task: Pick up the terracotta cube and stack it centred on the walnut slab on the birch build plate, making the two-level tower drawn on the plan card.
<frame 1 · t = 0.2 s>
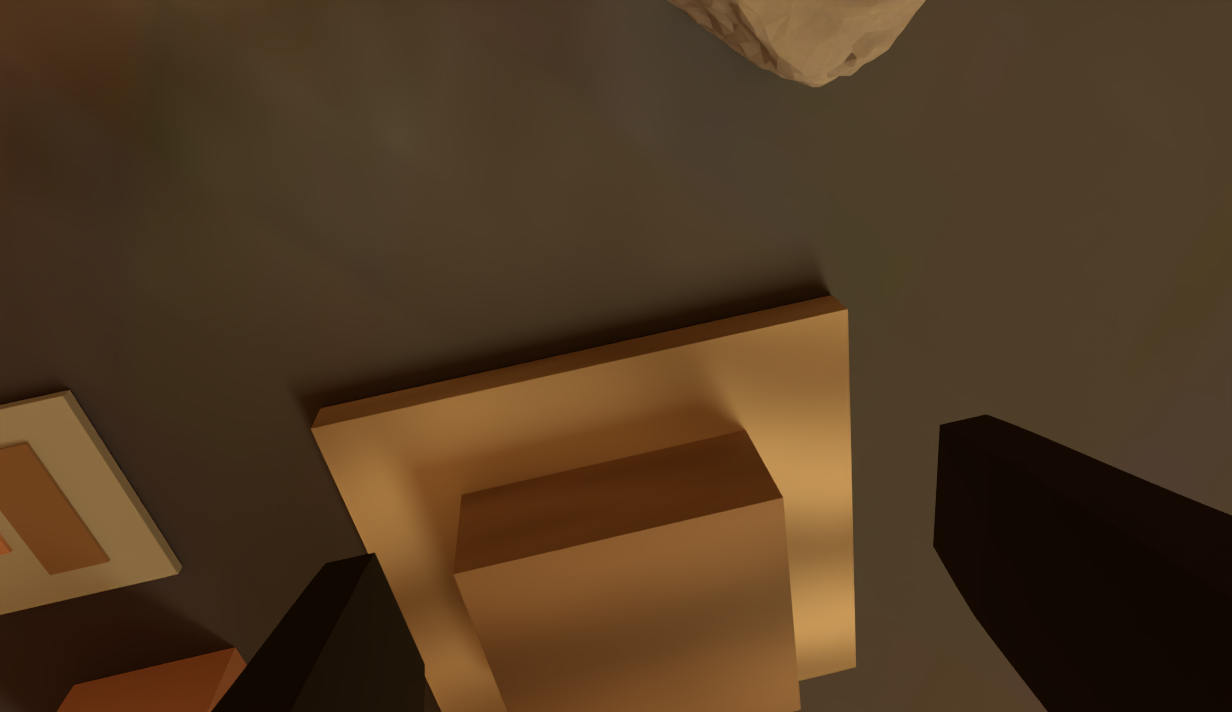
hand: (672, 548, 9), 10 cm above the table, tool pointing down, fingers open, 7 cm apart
walnut slab: (628, 567, 21), point 1 cm above the table, touching build plate
build plate: (624, 545, 22), on the table
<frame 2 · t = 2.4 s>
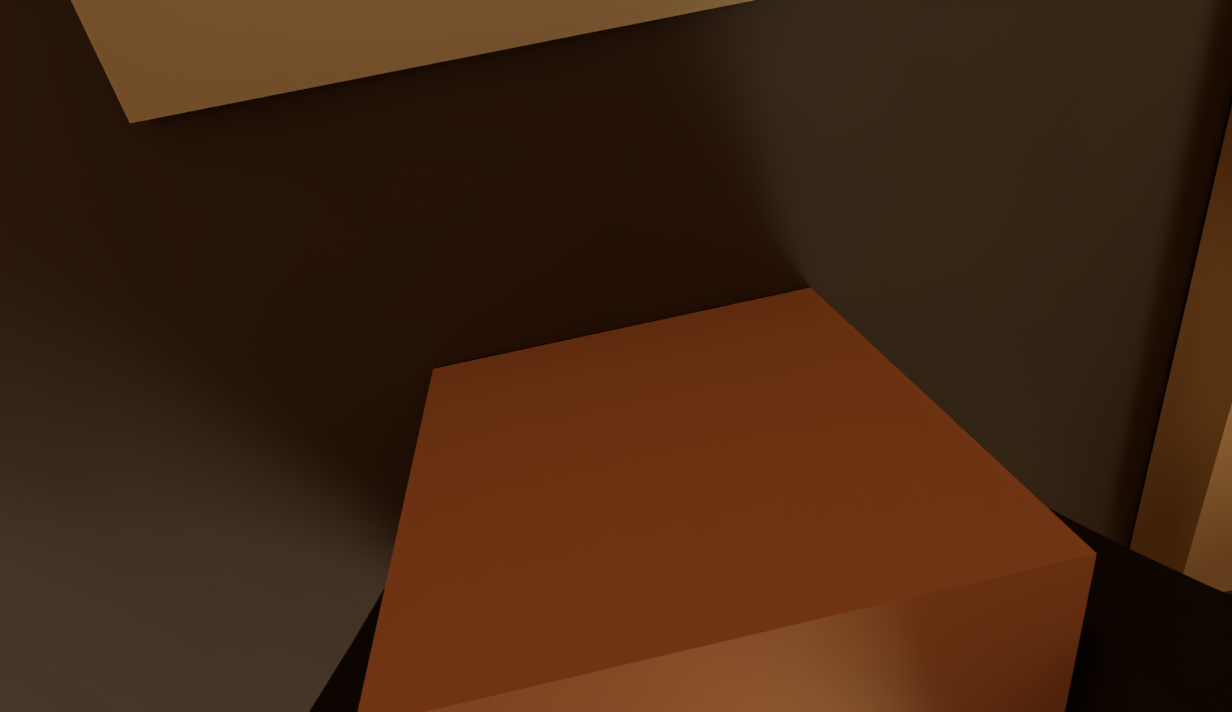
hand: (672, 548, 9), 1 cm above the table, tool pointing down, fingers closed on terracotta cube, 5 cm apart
terracotta cube: (652, 480, 10), on the table, touching gripper
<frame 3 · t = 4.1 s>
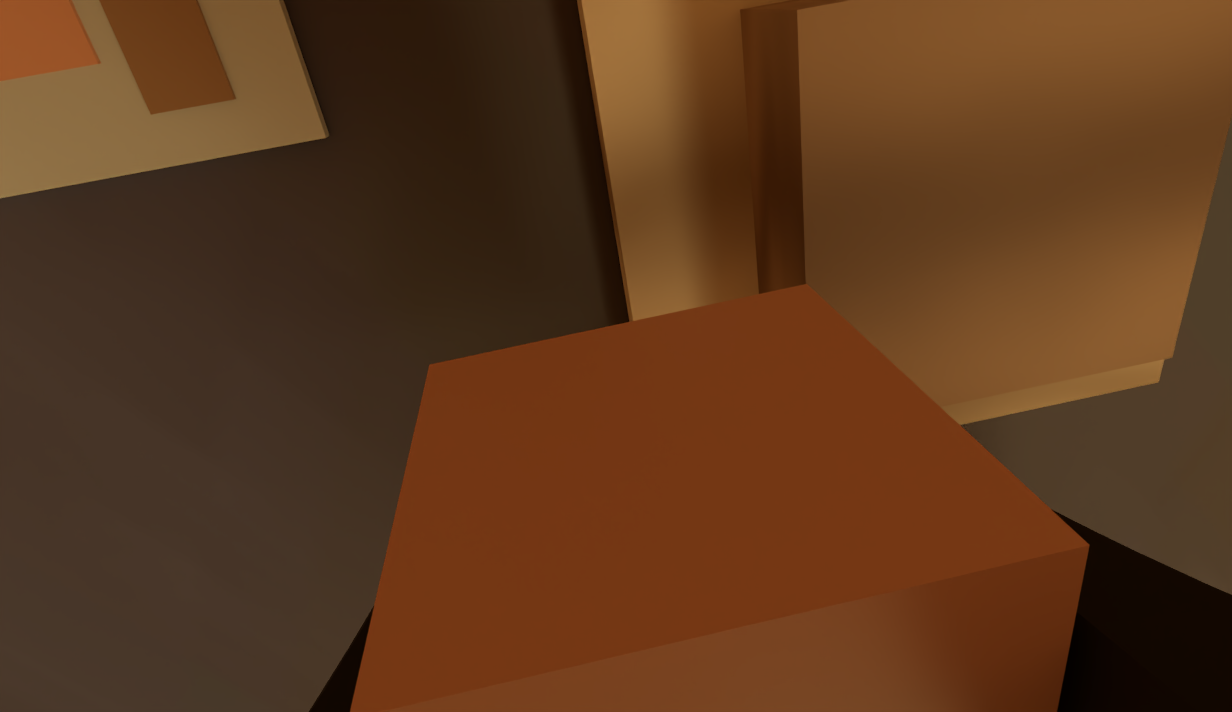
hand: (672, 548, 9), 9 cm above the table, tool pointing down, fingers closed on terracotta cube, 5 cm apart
walnut slab: (927, 176, 15), point 1 cm above the table, touching build plate
plan card: (82, 4, 13), on the table
terracotta cube: (648, 476, 10), point 7 cm above the table, touching gripper
build plate: (904, 167, 16), on the table
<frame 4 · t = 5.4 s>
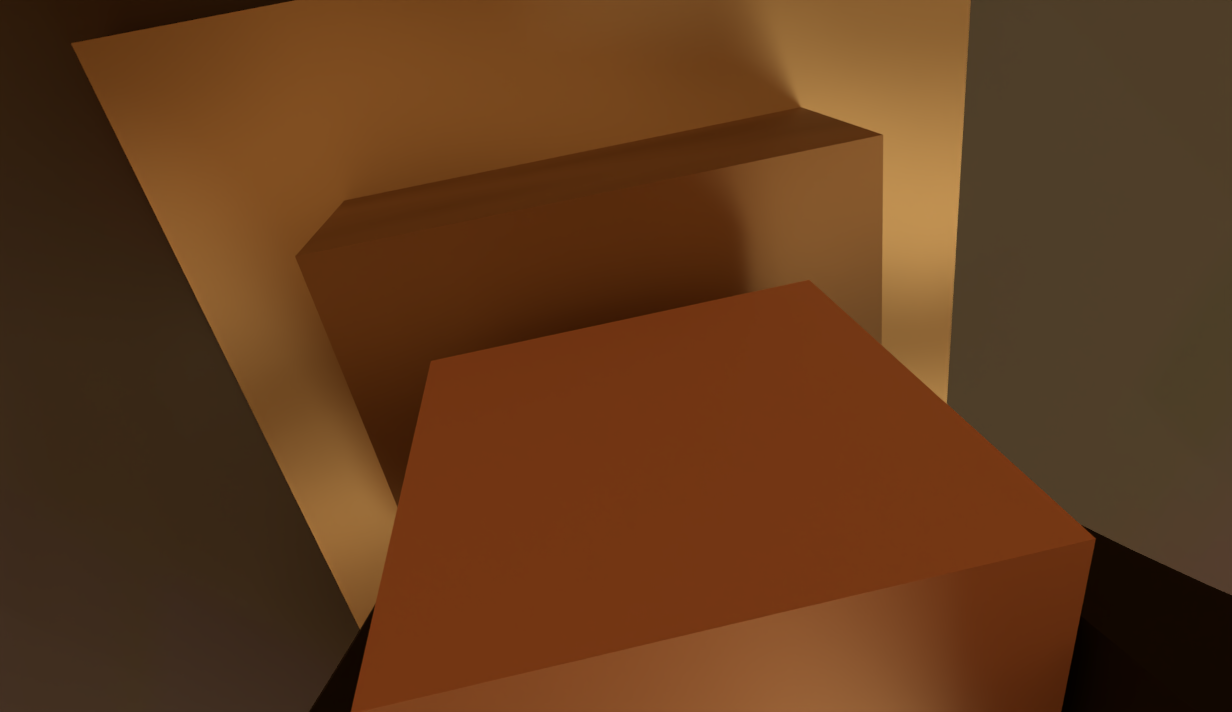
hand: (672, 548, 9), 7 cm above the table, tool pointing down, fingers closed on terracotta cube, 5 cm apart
walnut slab: (615, 356, 14), point 1 cm above the table, touching build plate
terracotta cube: (650, 473, 10), point 5 cm above the table, touching gripper
build plate: (609, 335, 15), on the table
when the fingers open (7 cm above the table, at t = 6.2 s): terracotta cube drops 1 cm, resting on walnut slab.
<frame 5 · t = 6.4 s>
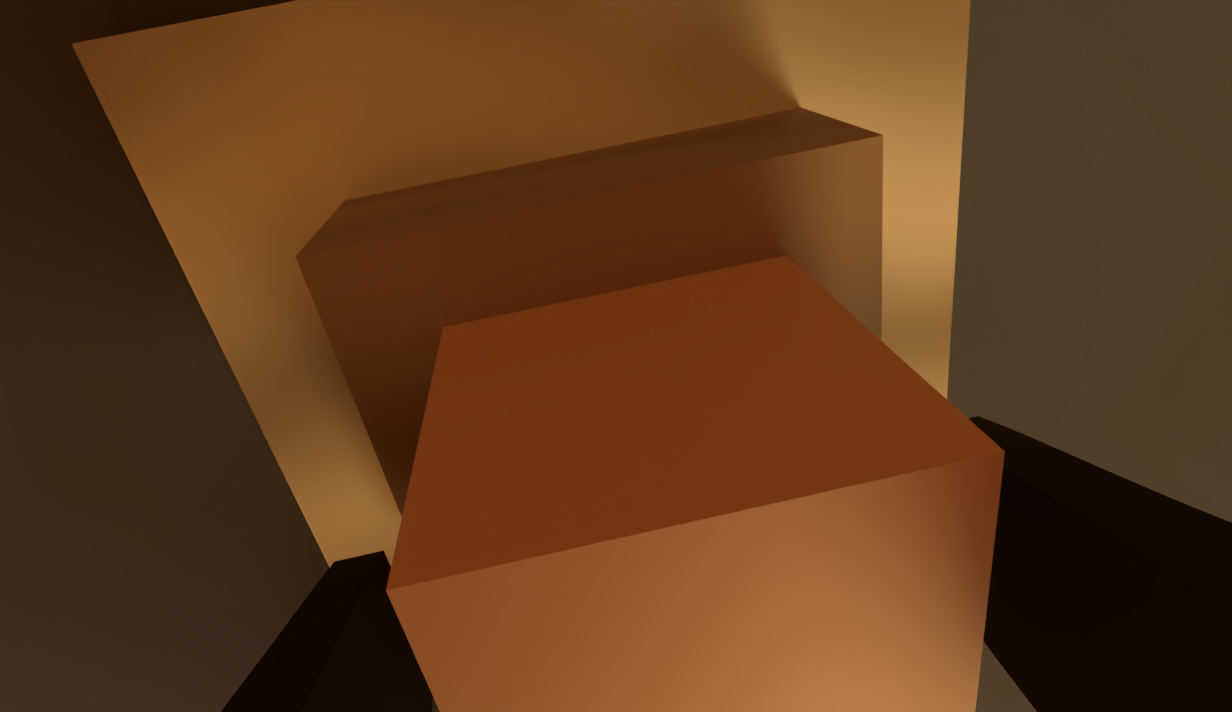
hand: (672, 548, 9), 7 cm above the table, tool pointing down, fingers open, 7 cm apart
walnut slab: (615, 356, 14), point 1 cm above the table, touching build plate, terracotta cube
terracotta cube: (642, 434, 11), point 4 cm above the table, touching walnut slab
build plate: (609, 335, 15), on the table
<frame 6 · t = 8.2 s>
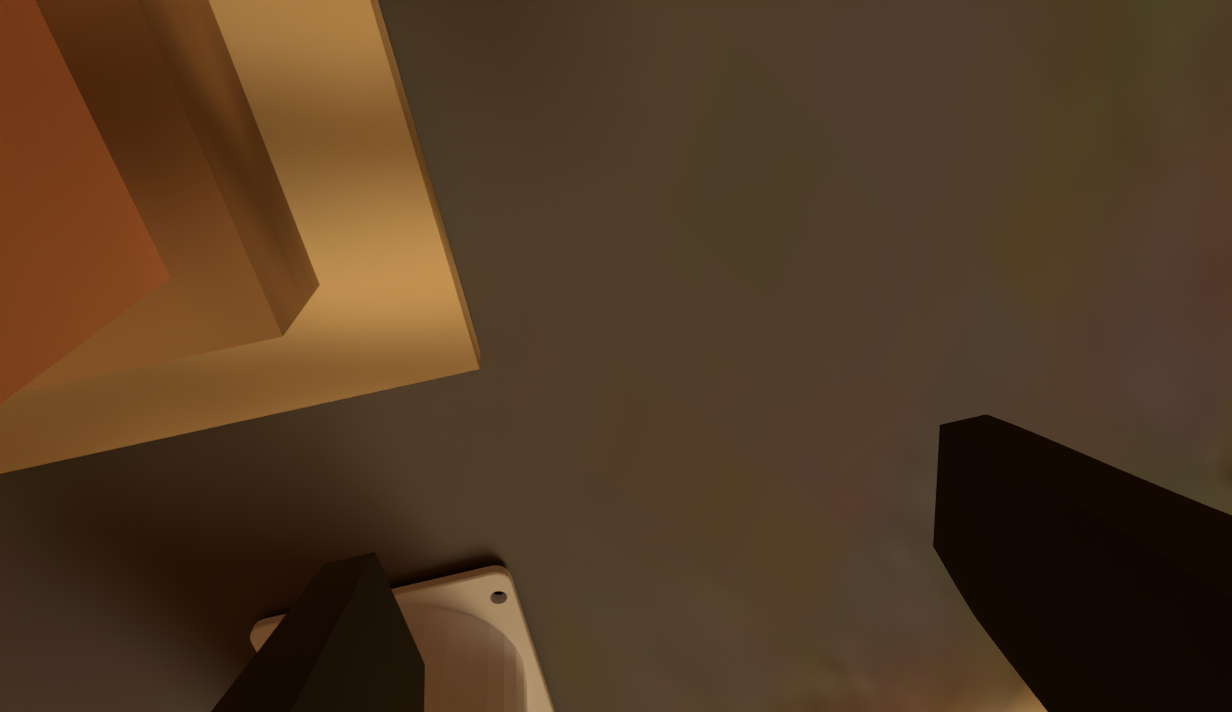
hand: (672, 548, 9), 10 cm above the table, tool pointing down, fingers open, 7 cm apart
walnut slab: (54, 145, 14), point 1 cm above the table, touching build plate, terracotta cube
build plate: (81, 138, 15), on the table
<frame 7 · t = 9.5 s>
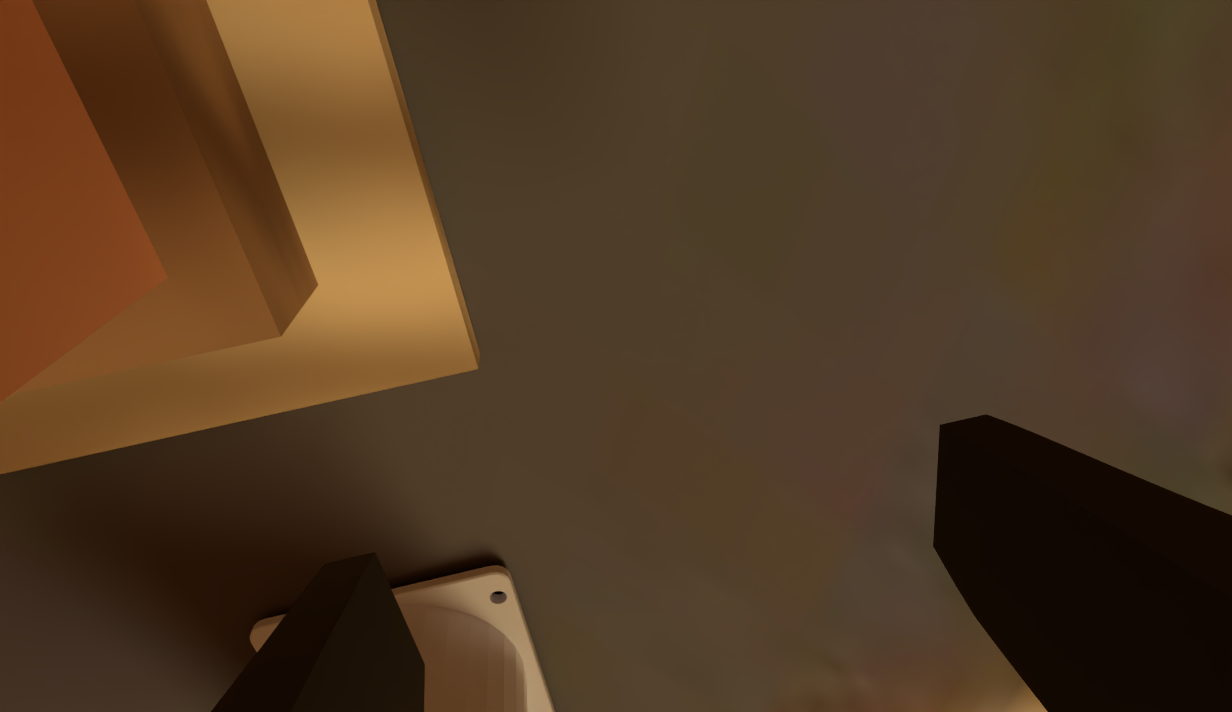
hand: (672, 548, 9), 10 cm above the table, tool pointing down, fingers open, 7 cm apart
walnut slab: (53, 146, 14), point 1 cm above the table, touching build plate, terracotta cube
build plate: (79, 138, 15), on the table
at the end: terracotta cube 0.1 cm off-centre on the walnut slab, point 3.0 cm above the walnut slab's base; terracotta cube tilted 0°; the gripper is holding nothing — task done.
